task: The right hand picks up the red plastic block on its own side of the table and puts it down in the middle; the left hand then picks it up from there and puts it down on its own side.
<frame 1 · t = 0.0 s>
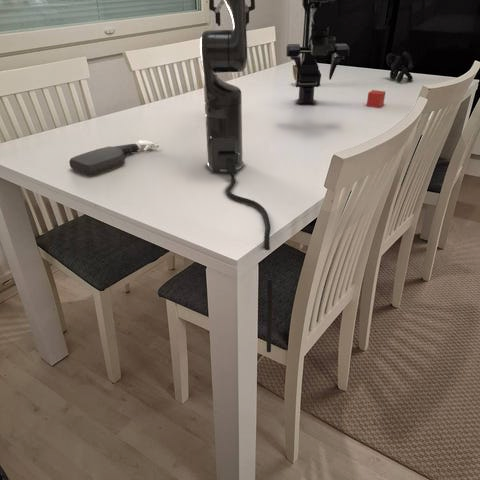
left hand: (232, 25, 142), 29 cm above the table, tool pointing down, fingers open, 8 cm apart
right hand: (315, 79, 140), 15 cm above the table, tool pointing down, fingers open, 9 cm apart
spray bottle: (117, 159, 125), on the table
cup: (300, 85, 196), on the table
block: (375, 105, 167), on the table
squiggle: (399, 80, 200), on the table
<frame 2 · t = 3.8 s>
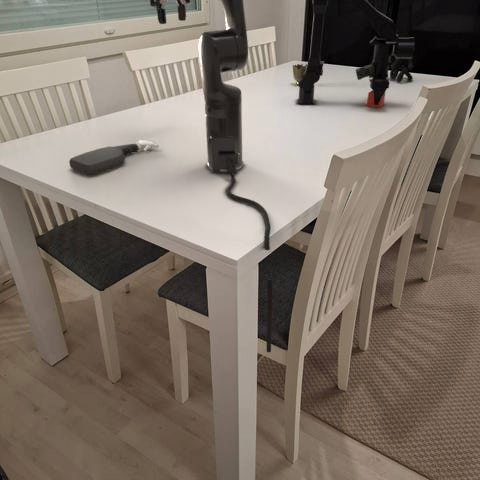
left hand: (172, 22, 128), 32 cm above the table, tool pointing down, fingers open, 8 cm apart
right hand: (375, 102, 167), 1 cm above the table, tool pointing down, fingers closed on block, 6 cm apart
block: (375, 105, 167), on the table, touching right hand
everything else where it was.
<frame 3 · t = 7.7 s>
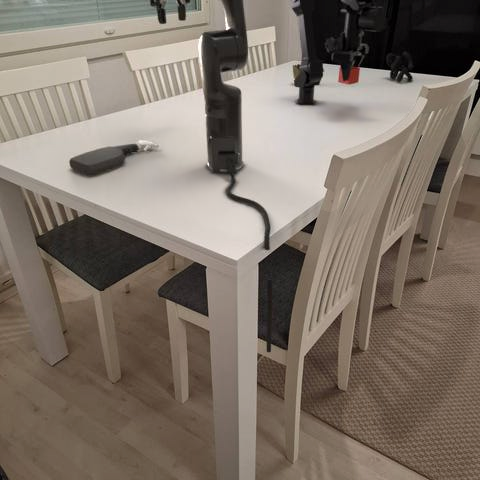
left hand: (172, 22, 128), 32 cm above the table, tool pointing down, fingers open, 8 cm apart
right hand: (347, 79, 152), 12 cm above the table, tool pointing down, fingers closed on block, 5 cm apart
block: (348, 82, 152), point 11 cm above the table, touching right hand
everything else where it was.
when the right hand's fingers open (2 cm above the table, at t = 12.0 s): block stays where it is, on the table.
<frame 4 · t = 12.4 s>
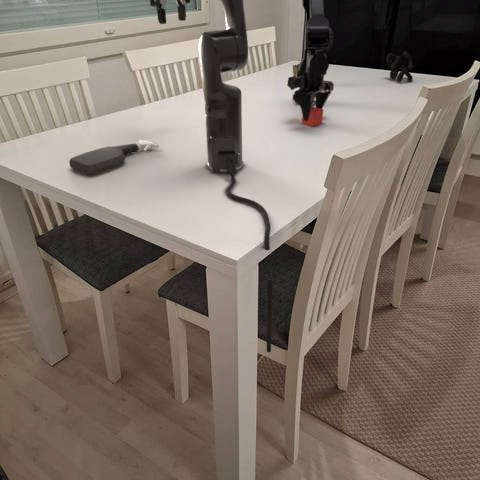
left hand: (172, 22, 128), 32 cm above the table, tool pointing down, fingers open, 8 cm apart
right hand: (312, 117, 149), 2 cm above the table, tool pointing down, fingers open, 9 cm apart
block: (312, 123, 150), on the table
everything else where it was.
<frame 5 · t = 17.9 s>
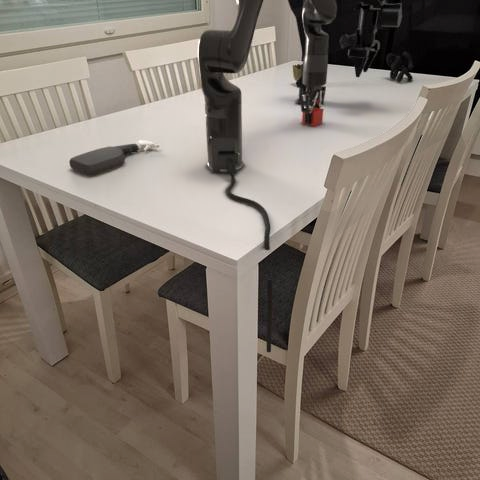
left hand: (311, 121, 149), 1 cm above the table, tool pointing down, fingers closed on block, 5 cm apart
right hand: (361, 74, 157), 12 cm above the table, tool pointing down, fingers open, 9 cm apart
block: (312, 123, 150), on the table, touching left hand
everything else where it was.
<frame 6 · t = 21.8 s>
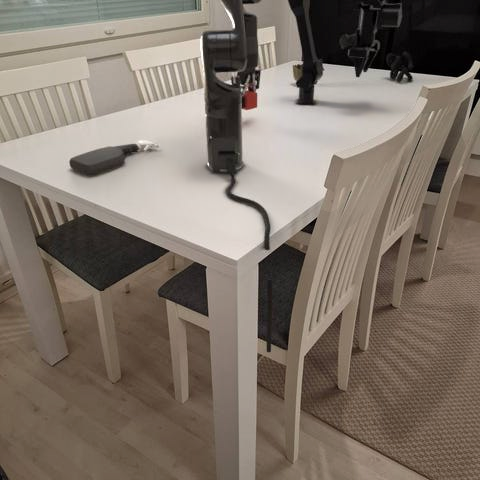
left hand: (246, 105, 148), 6 cm above the table, tool pointing down, fingers closed on block, 5 cm apart
right hand: (361, 74, 157), 12 cm above the table, tool pointing down, fingers open, 9 cm apart
block: (247, 107, 148), point 5 cm above the table, touching left hand
everything else where it was.
when the left hand's fingers open (2 cm above the table, at t = 25.5 s): block stays where it is, on the table.
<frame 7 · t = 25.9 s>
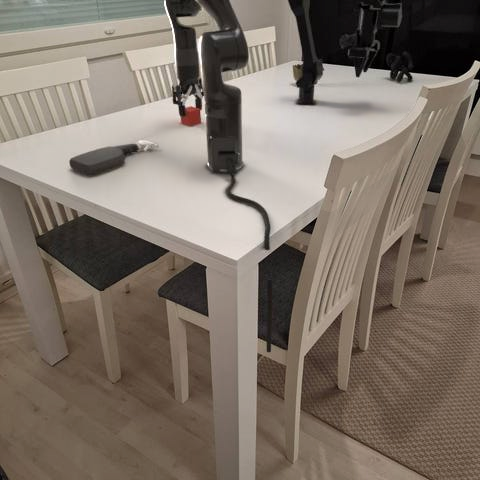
left hand: (191, 113, 151), 3 cm above the table, tool pointing down, fingers open, 8 cm apart
right hand: (361, 74, 157), 12 cm above the table, tool pointing down, fingers open, 9 cm apart
block: (191, 123, 152), on the table
everything else where it was.
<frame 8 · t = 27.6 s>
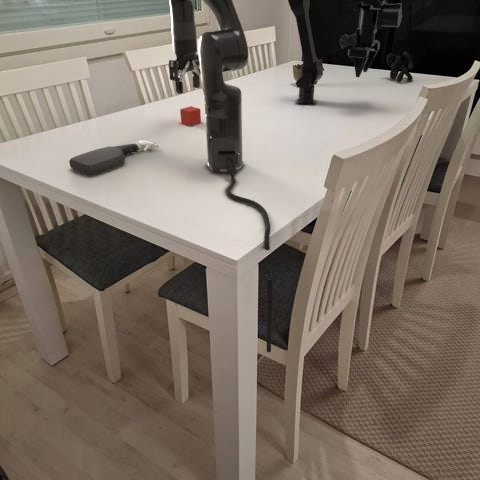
left hand: (188, 90, 147), 11 cm above the table, tool pointing down, fingers open, 8 cm apart
right hand: (361, 74, 157), 12 cm above the table, tool pointing down, fingers open, 9 cm apart
nothing on the table moved.
at the end: block inside the target area (0.2 cm from its centre), on the table; block tilted 0°; the two hands never held the block at the same time; the left hand is holding nothing; the right hand is holding nothing; block at rest at the end (0.0 cm/s) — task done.
